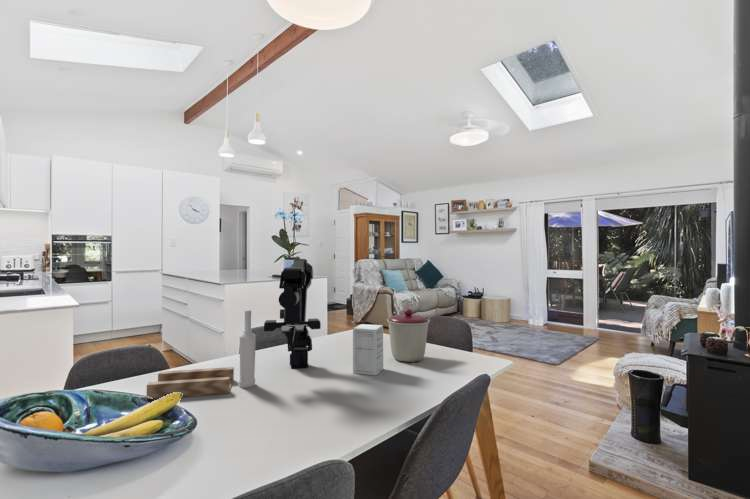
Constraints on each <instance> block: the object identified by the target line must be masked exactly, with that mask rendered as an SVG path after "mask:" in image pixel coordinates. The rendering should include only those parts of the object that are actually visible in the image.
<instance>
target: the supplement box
mask: <svg viewBox="0 0 750 499" xmlns="http://www.w3.org/2000/svg"><path fill="white" fill-rule="evenodd" d="M383 369H384V325H383V324H368V323H367V324H366V323H365V324H364V323H361V324H359V325H357V326H355V327H353V328H352V373H353V374H357V375H367V376H368V375H370V376H378V374H380V372H382V370H383Z"/></svg>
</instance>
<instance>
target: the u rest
mask: <svg viewBox="0 0 750 499" xmlns="http://www.w3.org/2000/svg"><path fill="white" fill-rule="evenodd" d="M234 369H235V368H234V366H229V367H228V366H227V367H214V368H213V367H212V368H197V369H196V368H195V369H182V370H166V371H164V370H163V371H160V372H159V373H158V374H157V381H149V382H148V383H147V384H146V397H147V396H149V397H152V398H153V399H154V401H155V400H160V399H159V398H161V397H163V396H166V395H167V394H170V393H173V392H181V393H183V397H182V398H191V397H203V396H204V397H206V396H215V395H217V396H218V395H229V393H230V391H231V389H232V385H233V384H234V379H235V370H234Z"/></svg>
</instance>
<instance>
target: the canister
mask: <svg viewBox="0 0 750 499" xmlns="http://www.w3.org/2000/svg"><path fill="white" fill-rule="evenodd" d="M403 313H404V314H403ZM403 313H402V314H393V315H392V316H390V317H389V318H387V319H386V322H388V331H389V341H390V350H391V354H392V357H393V358H394V360H396V361H398V362H404V363H415V362H420V361H422V359H424V357H425V353H426V345H427V340H428V339H427V338H428V330H429V329H428V328H429V323H430V322H431V320H430V319H429V318H427V317H426V316H424V315H420V314H413V310H412V309H411V308H406V309H404V312H403Z"/></svg>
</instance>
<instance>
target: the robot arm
mask: <svg viewBox="0 0 750 499" xmlns="http://www.w3.org/2000/svg"><path fill="white" fill-rule="evenodd" d="M280 273H281V274H280V280H279V286H278V288H279V289H283V291H282V292H281V293H280V295H279V296H278V303H279V305H280V307H282V309H279V319H280V320H283V322H282V321H279V322H277V319H267V320H265V321H264V323H263V332H274V331H275V330H276V329H281V334H284V335H285V337H286V339H287V340H286V341H287V352H291V353H289V366H290V368H291V369H303V368H309V352H310V351H312V350H313V341H312V338H311V335H310V332H309V329H310V330H321V325H322V324H321V320H320V319H318V318H308V319H307V318H306V317H307V302H308V300H307V299H308V289H309V288H310V287H311V285H312V280H313V279H314V269H313V265H311V264H310V263H309V262H308V259H306V258H296V259H295V258H294V260H293V263H292V264H291V266H289V267H284V268H283V270H282V271H281V272H280ZM306 319H307V321H306ZM308 328H309V329H308Z"/></svg>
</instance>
